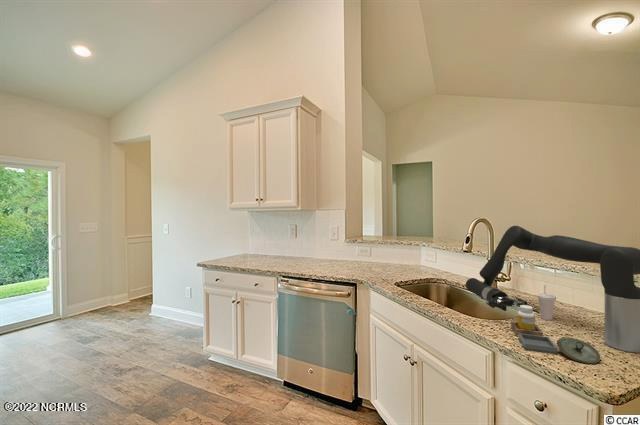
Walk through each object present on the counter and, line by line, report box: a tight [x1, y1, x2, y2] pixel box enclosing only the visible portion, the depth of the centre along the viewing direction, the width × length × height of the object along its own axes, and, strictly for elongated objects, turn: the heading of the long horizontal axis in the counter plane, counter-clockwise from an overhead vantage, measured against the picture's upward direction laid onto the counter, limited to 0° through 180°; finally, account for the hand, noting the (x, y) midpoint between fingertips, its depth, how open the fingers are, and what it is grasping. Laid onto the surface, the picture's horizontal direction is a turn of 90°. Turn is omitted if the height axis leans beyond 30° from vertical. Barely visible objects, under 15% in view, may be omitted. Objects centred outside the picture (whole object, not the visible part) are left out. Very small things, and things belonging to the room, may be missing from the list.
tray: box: [518, 333, 559, 355], centre depth 101 cm, size 9×9×2 cm
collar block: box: [510, 321, 544, 336], centre depth 112 cm, size 8×8×2 cm
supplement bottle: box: [517, 304, 536, 331], centre depth 112 cm, size 5×5×10 cm
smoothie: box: [536, 284, 557, 321], centre depth 125 cm, size 6×6×14 cm
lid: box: [556, 336, 601, 365], centre depth 93 cm, size 11×10×5 cm
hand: (516, 308), depth 118 cm, fingers open, 8 cm apart
